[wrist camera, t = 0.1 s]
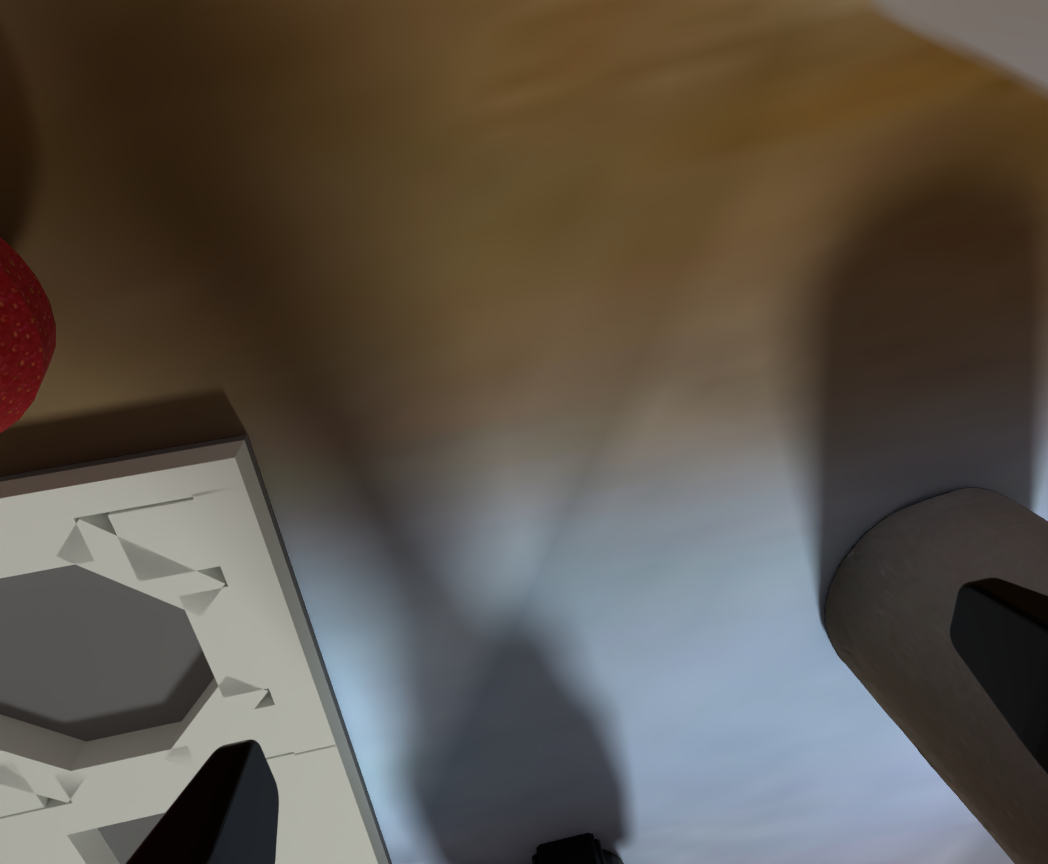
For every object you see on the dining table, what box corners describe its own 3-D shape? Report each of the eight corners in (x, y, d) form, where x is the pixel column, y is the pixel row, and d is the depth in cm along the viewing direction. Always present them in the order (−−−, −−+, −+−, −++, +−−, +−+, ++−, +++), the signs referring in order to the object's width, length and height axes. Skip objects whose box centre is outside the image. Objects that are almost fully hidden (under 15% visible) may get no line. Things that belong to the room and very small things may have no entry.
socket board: (391, 864, 29) (391, 901, 28) (69, 942, 28) (51, 986, 26) (247, 434, 20) (235, 457, 18) (-254, 520, 18) (-310, 552, 17)
